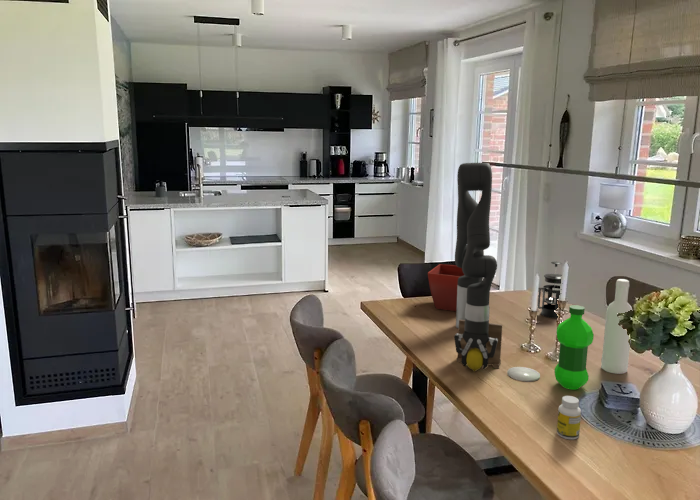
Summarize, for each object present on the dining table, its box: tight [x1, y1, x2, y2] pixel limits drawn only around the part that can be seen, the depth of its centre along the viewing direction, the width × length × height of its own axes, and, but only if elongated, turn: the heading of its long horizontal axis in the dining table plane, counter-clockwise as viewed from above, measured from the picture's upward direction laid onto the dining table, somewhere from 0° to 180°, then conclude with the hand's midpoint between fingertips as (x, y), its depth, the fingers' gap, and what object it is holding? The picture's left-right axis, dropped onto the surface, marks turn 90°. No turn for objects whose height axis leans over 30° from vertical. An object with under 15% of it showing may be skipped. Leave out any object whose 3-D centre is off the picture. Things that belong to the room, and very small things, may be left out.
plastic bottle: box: [554, 304, 594, 391], centre depth 170 cm, size 10×10×25 cm
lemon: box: [466, 348, 484, 372], centre depth 183 cm, size 6×6×8 cm
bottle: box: [600, 278, 633, 375], centre depth 182 cm, size 8×8×30 cm
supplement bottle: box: [556, 395, 582, 441], centre depth 144 cm, size 5×5×10 cm
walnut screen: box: [455, 319, 503, 369], centre depth 189 cm, size 5×14×14 cm, turn 68°
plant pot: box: [427, 263, 464, 312], centre depth 250 cm, size 19×19×17 cm
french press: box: [537, 261, 563, 319], centre depth 239 cm, size 12×9×23 cm
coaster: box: [506, 366, 541, 382], centre depth 181 cm, size 10×10×1 cm
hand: (474, 366), depth 183 cm, fingers closed on lemon, 5 cm apart
